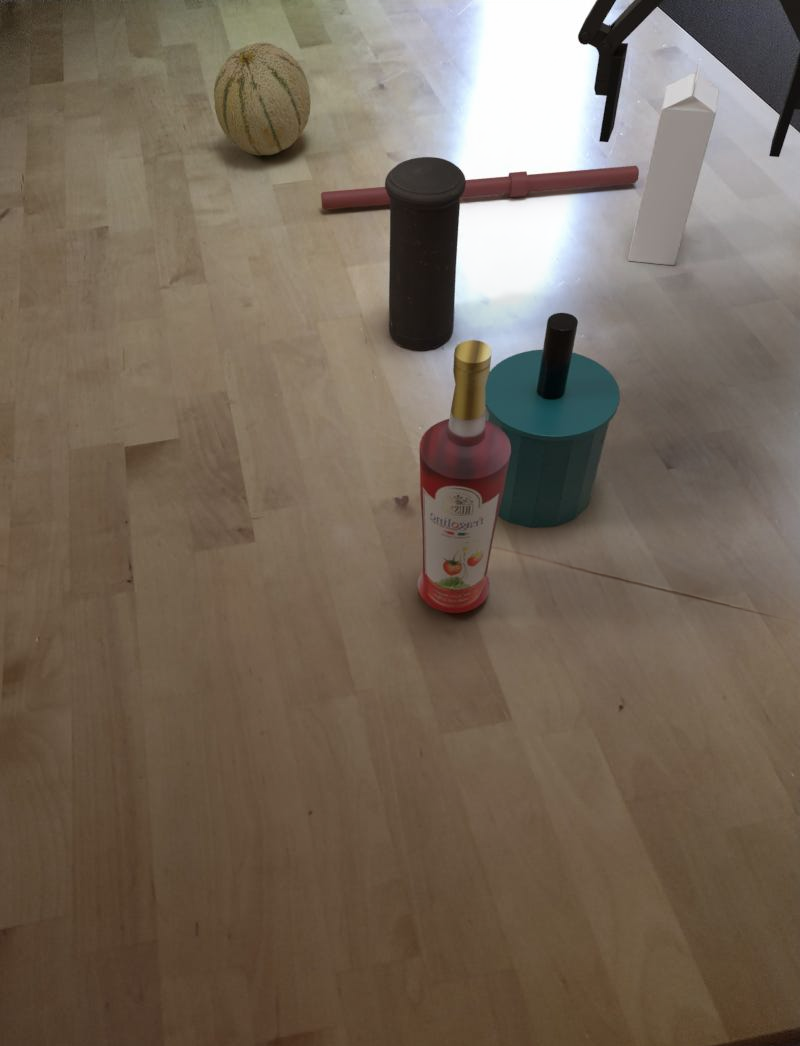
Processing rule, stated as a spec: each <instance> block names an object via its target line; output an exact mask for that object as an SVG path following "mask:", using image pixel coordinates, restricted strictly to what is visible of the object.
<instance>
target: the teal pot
mask: <svg viewBox="0 0 800 1046" xmlns="http://www.w3.org/2000/svg"><path fill="white" fill-rule="evenodd" d="M485 420H486V421H488V422H490V423H492V424H495V425H496V426H497V427H499V428H500V429H501V430H502V431H503V432H504V433H505V434H506V435H507V437H508V439H509V441H510V444H511V454H510V459H509V464H508V469H507V474H506V480H505V485H504V490H503V496H502V500H501V505H500V509H499V513H498V517H499V518H501V519H502V520H504V521H506V522H507V523H509V524H513V525H518V526H521V527H525V528H530V529H531V528H532V529H537V528H555V527H558V526H561V525H563V524H566V523H569V522H570V521H573V520H575V519H576V518H577V517H579V515H580V514H581V513H583V511H584V510H586V509H587V508H588V506H589V503H590V501H591V497H592V494H593V490H594V487H595V482H596V478H597V475H598V471H599V467H600V462H601V458H602V454H603V450H604V446H605V441H606V438H607V433H608V429H609V425H610V422H611V420H610V421H609V423H608V424H607V425H605V426H604V427H603V428H601V429H600V430H598V431H596V432H595V433H592V434H590V435H588V436H584V437H581V438H577V439H572V440H565V441H544V440H537V439H532V438H528V437H524V436H521V435H519V434H516V433H514V432H512V431H510V430H508V429H506V428H504V427H503V426H501V425H500V424H499V423H498V422H496V421H495V420H494V419H493V418H492V417H491V415H490V414H489V413H488V411H487V409H486V408H485Z"/></svg>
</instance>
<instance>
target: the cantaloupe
mask: <svg viewBox="0 0 800 1046" xmlns="http://www.w3.org/2000/svg"><path fill="white" fill-rule="evenodd" d="M308 82H309V81H308V79H307V77H306V74H305V71H304V69H303V67H302V66H301V65H300V63H299V61H298V60H296V58H295V57H294V56H293V55H291V54H290V53H289V52H288V51H287V50H285V49H283V48H282V47H279V46H276V45H274V44H272V43H269V42H255V43H251V44H247V45H243V46H242V47H240V48H239V49H237V50H235V51H234V52H232V53H231V54H230V56H229V57H228V58H227V59H226V60H225V62H223V64H222V66H220V68H219V71H218V73H217V75H216V78H215V81H214V86H213V87H214V88H213V100H214V111H215V115H216V118H217V122H218V124H219V126H220V128H221V130H222V132H223V134H224V136H225V137H226V138H227V139H228V140H229V141H230V142H231V143H232V144H233V145H234V146H235V147H237V148H239V149H241V150H242V151H244V152H245V153H248V154H250V155H254V156H272V155H276V154H278V153H280V152H282V151H285V150H287V149H288V148H290V147H291V146H292V145H293V144H294V143H295V141H296V140H298V139H299V138H300V137H301V135H302V133H303V132H304V130H305V128H306V127H307V125H308V123H309V122H308V121H309V118H310V114H311V101H312V100H311V93H310V86H309V83H308Z"/></svg>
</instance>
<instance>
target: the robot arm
mask: <svg viewBox="0 0 800 1046" xmlns="http://www.w3.org/2000/svg"><path fill="white" fill-rule="evenodd" d="M663 1H664V0H633V1H632V2H631V3H630V4H629V5H628V6H627V7H626V8H625V10H623V11H622V12H621V14H620V15H619V16H618V17H616V19H615V20H614V21H613V22H612V23H610V24H607V23H604V22H605V20H606V18H607V16H608V15H609V13H610V12H611V10H612V8H613V6H614V5H615V3H616V2H617V0H595V2H594V4H593V6H592V7H591V9H590V11H589V12H588V14H587V16H586V17H585V20H584V21H583V23H582V26H581V28H580V29H579V31H578V34H577V40H578V42H579V43H580V44H581V45H583V46H586V45H589V46H592V47H593V48H595V49H596V51H597V53H598V59H597V65H596V73H595V80H594V85H593V89H594V95H595V96H602V97H603V96H605V103H604V108H603V115H602V122H601V127H600V133H599V140H598V142H600V143H609V141H610V139H611V136H612V133H613V130H614V129H615V123H616V117H617V111H618V106H619V99H620V94H621V88H622V82H623V76H624V70H625V66H626V65H625V64H626V60H627V59H626V58H627V53H628V47H629V43H628V42H624V41H625V40H626V39H627V38H629V36H630V35H631V34H632V33H634V31H635V30H636V29H637V28H638V27H639V26H640V25H641V24H642V23H643V22H644V21H646V19H647V18H648V17H649V16H650V15H651V14H652V13H653V11H655V10H656V9H657V8H658V6H660V5H661V4H662V3H663ZM778 1H779V3H780V5H781V7H782V9H783V11H784V13H785V15H786V17H787V19H788V21H789V23H790V25H791V28H792V30H793V31H794V33H795V36H796V38H797V40H798V42H799V43H800V0H778ZM795 110H800V52H799V53H798V56H797V58H796V62H795V65H794V69H793V72H792V75H791V77H790V82H789V85H788V87H787V91H786V94H785V97H784V101H783V104H782V108H781V111H780V114H779V117H778V120H777V124H776V127H775V130H774V132H773V136H772V138H771V144H770V149H769V154H768V156H769V157H774V158H780V156H781V153H782V150H783V146H784V144H785V140H786V137H787V134H788V130H789V129H790V125H791V122H792V119H793V115H794V112H795Z"/></svg>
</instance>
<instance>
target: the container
mask: <svg viewBox="0 0 800 1046" xmlns="http://www.w3.org/2000/svg"><path fill="white" fill-rule="evenodd" d="M466 180H467V179H466V176H465V174H464V172H463V170H462V169H461V168H460V167H459V166H457V165H456V164H455V163H453V162H452V161H449V160H448V159H445V158H441V157H435V156H433V157H432V156H422V157H421V156H420V157H415V158H414V157H413V158H410V159H406V160H404V161H402V162H400V163H397V164H396V165H395V166H394V167H392V169H391V170H390V171H389V172H388V173H387V175H386V177H385V181H384V187H385V189H386V191H387V194H388V195H389V197H390V204H389V265H388V266H389V270H388V271H389V279H388V280H389V281H388V283H389V284H388V288H389V289H388V333H389V336H390V338H391V339H392V341H393V342H394V343H396V345H398V346H400V347H403V348H406V349H408V350H413V351H425V350H432V349H436V348H439V347H440V346H442V345H443V344H445V343H446V342H448V340H449V339H450V338H451V337H452V335H453V332H454V325H455V323H454V321H455V301H456V300H455V299H456V297H455V296H456V277H457V276H456V275H457V255H458V240H459V239H458V238H459V223H460V209H461V198H460V197H461V196H462V194H463V193H464V190H465V184H466Z"/></svg>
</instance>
